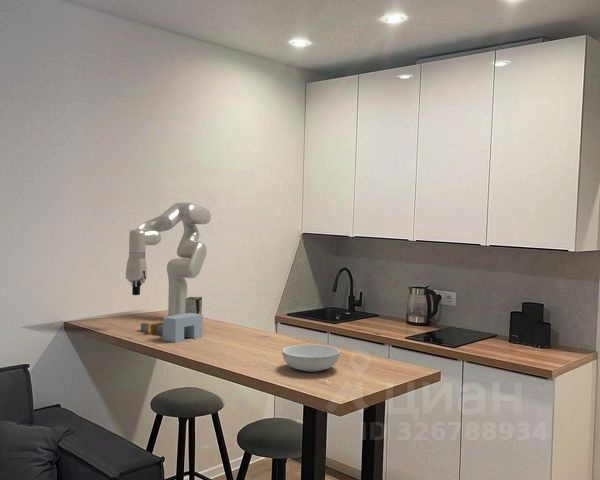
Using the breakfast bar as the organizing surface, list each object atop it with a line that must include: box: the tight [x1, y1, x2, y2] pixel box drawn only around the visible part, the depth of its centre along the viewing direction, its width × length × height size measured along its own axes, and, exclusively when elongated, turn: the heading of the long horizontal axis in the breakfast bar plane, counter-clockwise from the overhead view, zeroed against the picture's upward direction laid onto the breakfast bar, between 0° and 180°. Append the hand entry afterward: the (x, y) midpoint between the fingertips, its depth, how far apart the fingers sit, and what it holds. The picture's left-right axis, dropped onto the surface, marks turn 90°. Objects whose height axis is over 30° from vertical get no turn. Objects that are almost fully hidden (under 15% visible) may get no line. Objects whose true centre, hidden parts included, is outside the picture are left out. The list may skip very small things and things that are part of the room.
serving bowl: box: [281, 343, 341, 373], centre depth 214 cm, size 21×21×7 cm
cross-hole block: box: [162, 313, 204, 344], centre depth 259 cm, size 8×16×10 cm, turn 144°
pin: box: [140, 321, 163, 337], centre depth 268 cm, size 24×8×5 cm, turn 54°
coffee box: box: [185, 296, 203, 315], centre depth 273 cm, size 9×6×16 cm
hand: (136, 294), depth 277 cm, fingers closed
